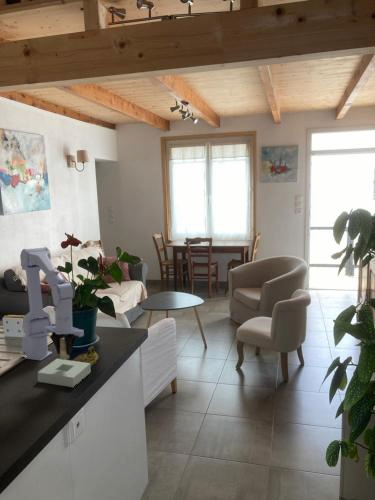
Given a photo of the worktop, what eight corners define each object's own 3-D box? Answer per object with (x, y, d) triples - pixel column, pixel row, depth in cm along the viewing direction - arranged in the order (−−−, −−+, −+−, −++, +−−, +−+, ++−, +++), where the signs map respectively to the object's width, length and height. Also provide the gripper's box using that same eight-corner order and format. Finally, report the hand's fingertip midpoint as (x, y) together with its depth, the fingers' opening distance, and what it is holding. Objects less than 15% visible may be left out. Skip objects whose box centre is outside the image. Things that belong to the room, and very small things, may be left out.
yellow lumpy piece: (88, 373, 150) (103, 357, 164) (89, 362, 149) (104, 346, 163) (65, 368, 151) (82, 352, 166) (66, 357, 150) (83, 342, 165)
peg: (62, 355, 145) (62, 337, 144) (71, 356, 144) (70, 338, 143) (58, 359, 142) (57, 340, 141) (66, 360, 141) (66, 341, 140)
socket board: (37, 381, 140) (37, 372, 139) (57, 367, 151) (57, 358, 151) (73, 387, 136) (73, 377, 136) (90, 372, 148) (90, 363, 147)
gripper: (38, 318, 139) (40, 355, 140) (76, 322, 135) (77, 360, 137) (50, 312, 145) (51, 347, 147) (86, 316, 142) (87, 352, 144)
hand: (64, 353), depth 143 cm, fingers closed on peg, 3 cm apart
